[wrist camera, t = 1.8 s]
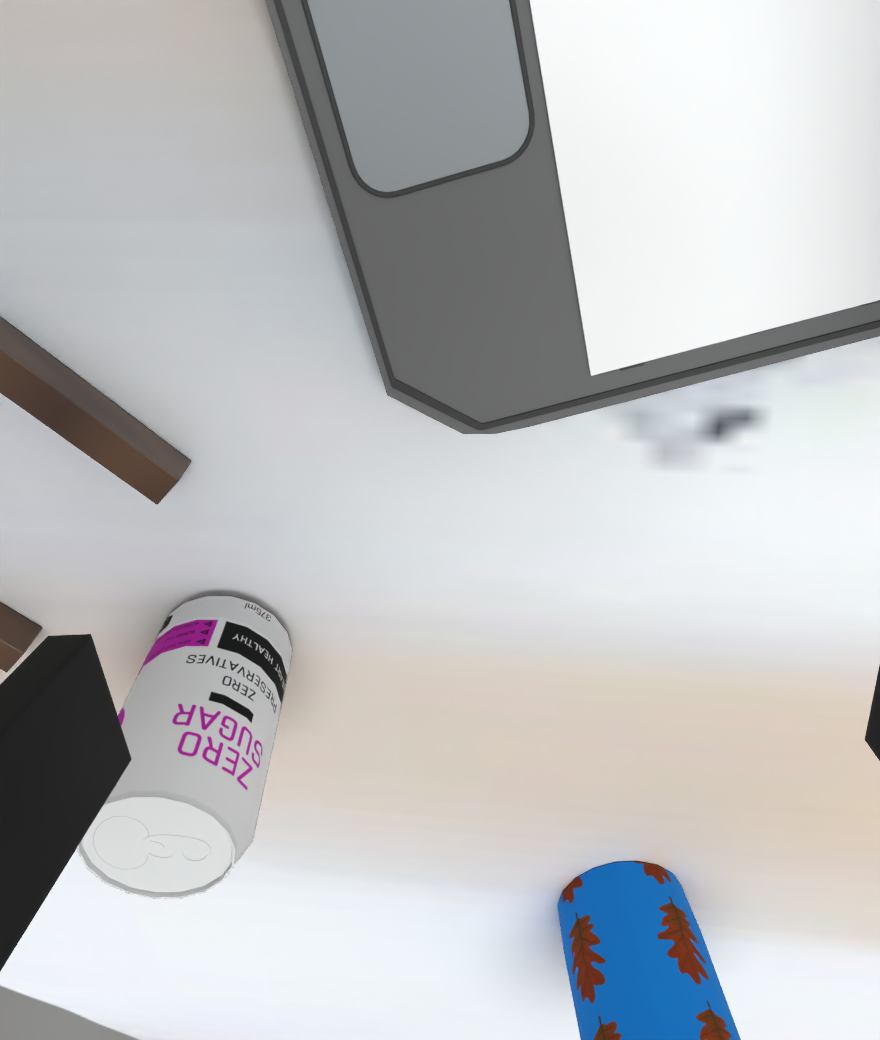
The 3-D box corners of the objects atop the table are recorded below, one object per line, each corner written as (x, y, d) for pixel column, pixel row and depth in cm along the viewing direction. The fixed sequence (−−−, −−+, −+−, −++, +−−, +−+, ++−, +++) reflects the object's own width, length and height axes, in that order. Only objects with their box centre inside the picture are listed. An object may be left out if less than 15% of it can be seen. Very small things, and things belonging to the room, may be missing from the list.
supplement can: (159, 683, 47) (64, 898, 34) (165, 578, 43) (60, 775, 30) (285, 699, 48) (240, 914, 35) (300, 599, 44) (257, 798, 31)
